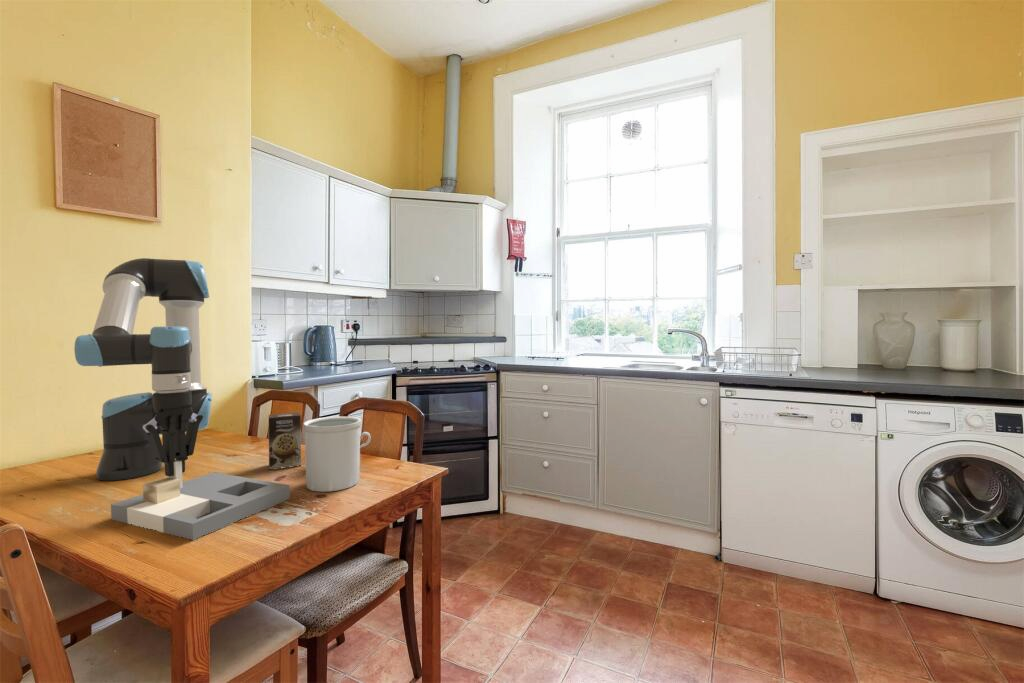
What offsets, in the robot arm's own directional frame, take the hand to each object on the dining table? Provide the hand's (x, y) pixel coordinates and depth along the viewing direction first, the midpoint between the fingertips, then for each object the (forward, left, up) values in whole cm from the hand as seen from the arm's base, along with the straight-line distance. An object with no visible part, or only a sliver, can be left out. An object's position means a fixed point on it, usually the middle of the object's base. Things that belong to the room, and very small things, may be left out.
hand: (175, 487), depth 110 cm
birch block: (0, -3, -1) cm, 4 cm away
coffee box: (-3, +34, -5) cm, 35 cm away
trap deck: (+7, +2, -5) cm, 9 cm away
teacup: (+14, +42, -5) cm, 45 cm away
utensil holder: (+23, +27, -5) cm, 36 cm away
